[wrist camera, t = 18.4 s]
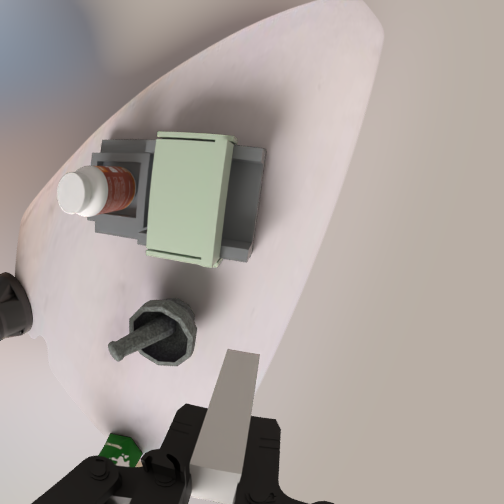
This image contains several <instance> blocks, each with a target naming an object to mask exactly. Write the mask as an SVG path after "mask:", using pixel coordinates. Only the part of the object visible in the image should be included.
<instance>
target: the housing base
mask: <svg viewBox="0 0 504 504" xmlns="http://www.w3.org/2000/svg"><path fill="white" fill-rule="evenodd" d="M155 146H156V140H102V145H101V152H100V153H92V160H91V166H115V167H123V168H126V169H128V170H129V171H130V172H131V173H132V175H133V176H134V178H135V181H136V194H135V197H134V199H133V201H132V202H131V204H130V205H129V206H127V207H126V208H124V209H122V210H117V211H113V212H108V213H104V214H99V215H95V216H90V217H87V220H90V221H95V232H97V233H103V234H108V235H114V236H120V237H126V238H132V239H138V244H140V245H145V246H146V243H147V225H148V210H149V198H150V188H151V178H152V169H153V161H154V153H155ZM265 157H266V149H265V148H257V147H249V146H240V145H234V147H233V154H232V161H231V168H230V176H229V183H228V191H227V199H226V206H225V214H224V223H223V231H222V240H221V248H220V257H219V258H223V259H229V260H235V261H241V262H247V261H248V259H249V258H250V257H251V254H252V248H253V241H254V234H255V227H256V220H257V213H258V206H259V199H260V192H261V185H262V178H263V171H264V164H265Z"/></svg>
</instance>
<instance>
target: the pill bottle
mask: <svg viewBox="0 0 504 504" xmlns="http://www.w3.org/2000/svg"><path fill="white" fill-rule="evenodd" d="M135 194H136V181H135V178H134V176H133V175H132V173H131V172H130V171H129V170H128V169H126V168H123V167H115V166H84V167H82V168H80V169H78V170H77V171H76V172H69V173H67V174H65V175H64V176H63V177H62V178H61V180H60V182H59V184H58V188H57V199H58V203H59V205H60V207H61V209H62V210H63V211H64V212H66V213H68V214H76V213H77V214H78V215H80V216H83V217H90V216H95V215H99V214H104V213H108V212H113V211H117V210H122V209H124V208H126V207H127V206H129V205H130V204H131V202H132V201H133V199H134V197H135Z"/></svg>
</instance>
